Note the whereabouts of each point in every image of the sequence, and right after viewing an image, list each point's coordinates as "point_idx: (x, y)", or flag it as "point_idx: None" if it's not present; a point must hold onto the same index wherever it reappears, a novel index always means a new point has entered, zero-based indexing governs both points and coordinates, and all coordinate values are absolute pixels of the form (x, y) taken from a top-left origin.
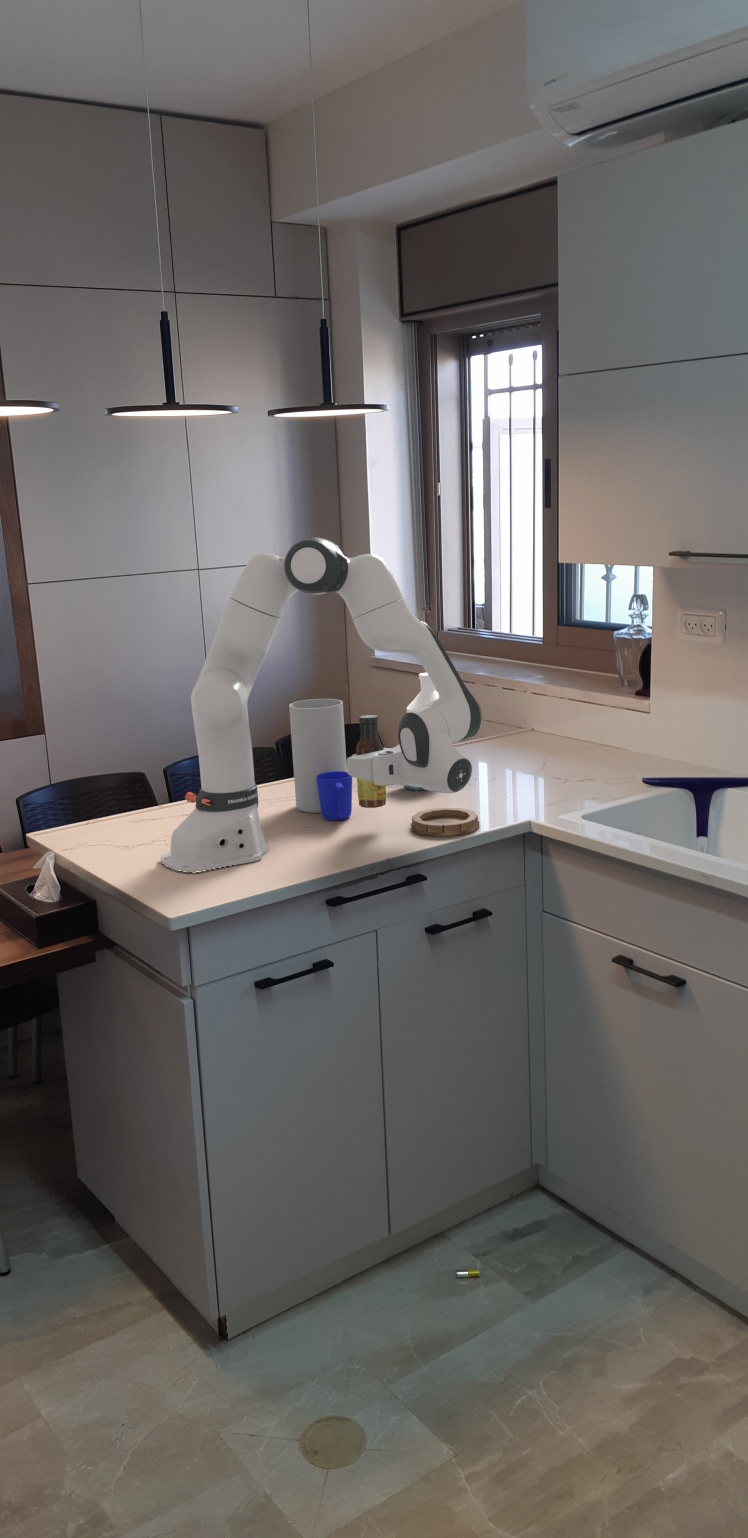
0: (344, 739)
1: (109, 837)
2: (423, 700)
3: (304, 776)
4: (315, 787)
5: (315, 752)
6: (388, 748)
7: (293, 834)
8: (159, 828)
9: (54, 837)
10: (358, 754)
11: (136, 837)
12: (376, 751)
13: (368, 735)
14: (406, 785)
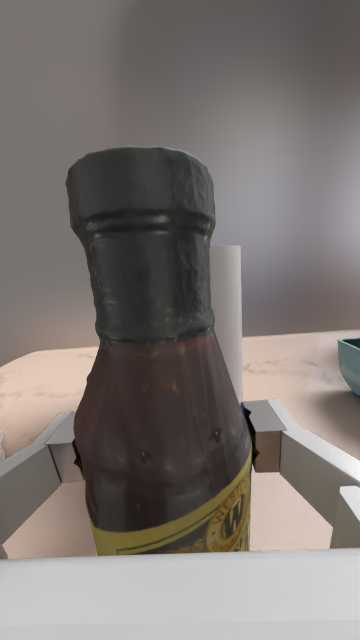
0: (235, 313)
1: (29, 370)
2: None
3: None
4: None
5: None
6: (298, 425)
7: (66, 483)
8: (64, 371)
9: (28, 357)
10: (67, 429)
11: (30, 379)
12: (15, 592)
13: (98, 331)
14: (357, 391)
